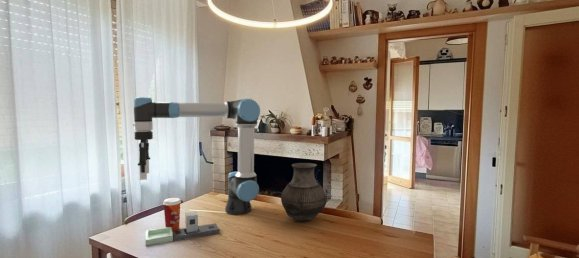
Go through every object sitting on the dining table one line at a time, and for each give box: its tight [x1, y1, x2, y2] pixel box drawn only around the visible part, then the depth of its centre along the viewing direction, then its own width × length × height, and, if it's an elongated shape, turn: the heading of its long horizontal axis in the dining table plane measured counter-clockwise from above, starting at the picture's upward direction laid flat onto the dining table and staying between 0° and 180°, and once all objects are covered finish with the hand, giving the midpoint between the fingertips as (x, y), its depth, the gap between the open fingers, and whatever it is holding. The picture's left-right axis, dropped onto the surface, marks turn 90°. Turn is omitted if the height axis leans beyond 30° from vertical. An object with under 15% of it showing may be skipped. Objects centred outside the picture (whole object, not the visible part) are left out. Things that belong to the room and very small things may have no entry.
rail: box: [172, 222, 220, 242], centre depth 138 cm, size 20×8×2 cm, turn 116°
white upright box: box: [184, 211, 199, 234], centre depth 137 cm, size 5×5×10 cm
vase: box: [280, 162, 328, 222], centre depth 156 cm, size 25×25×30 cm
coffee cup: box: [162, 197, 182, 233], centre depth 142 cm, size 8×8×15 cm
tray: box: [145, 226, 174, 246], centre depth 133 cm, size 11×11×2 cm
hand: (144, 176), depth 135 cm, fingers open, 13 cm apart
